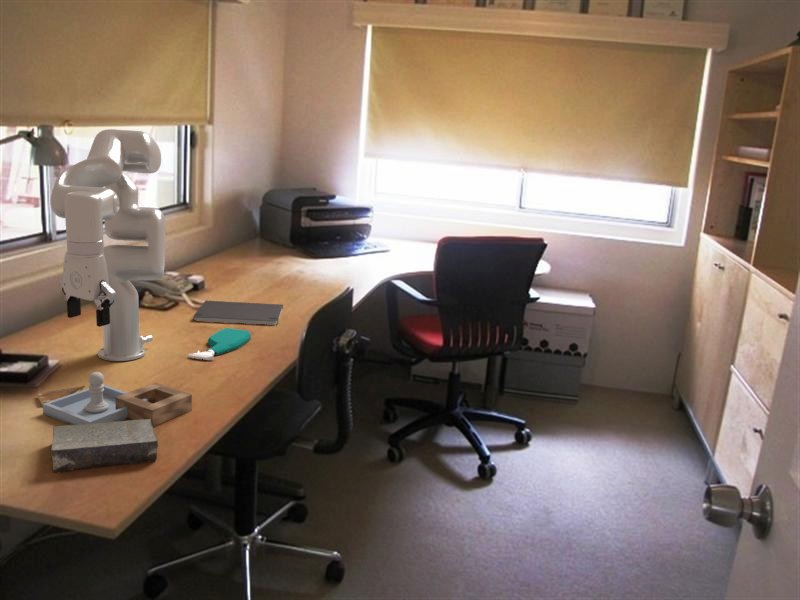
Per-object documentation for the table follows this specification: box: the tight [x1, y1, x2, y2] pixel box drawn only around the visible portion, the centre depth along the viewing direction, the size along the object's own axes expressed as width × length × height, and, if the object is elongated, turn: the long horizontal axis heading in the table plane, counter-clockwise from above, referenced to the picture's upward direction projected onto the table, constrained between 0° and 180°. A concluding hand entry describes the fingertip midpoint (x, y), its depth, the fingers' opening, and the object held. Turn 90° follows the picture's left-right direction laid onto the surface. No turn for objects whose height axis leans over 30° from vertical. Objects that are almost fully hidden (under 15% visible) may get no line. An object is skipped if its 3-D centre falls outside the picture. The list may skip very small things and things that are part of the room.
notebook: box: [193, 300, 284, 326], centre depth 251 cm, size 22×2×28 cm
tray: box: [42, 383, 148, 425], centre depth 166 cm, size 16×16×2 cm
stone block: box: [50, 419, 159, 474], centre depth 147 cm, size 14×20×5 cm
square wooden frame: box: [115, 382, 193, 428], centre depth 168 cm, size 12×12×4 cm
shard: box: [36, 385, 86, 407], centre depth 172 cm, size 11×8×2 cm
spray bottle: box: [187, 327, 252, 361], centre depth 216 cm, size 3×11×24 cm
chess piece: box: [84, 371, 109, 413], centre depth 165 cm, size 5×5×9 cm
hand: (88, 320), depth 164 cm, fingers open, 9 cm apart
